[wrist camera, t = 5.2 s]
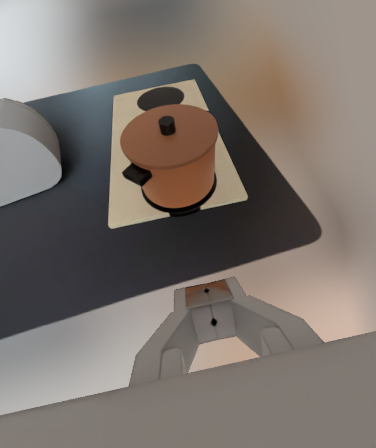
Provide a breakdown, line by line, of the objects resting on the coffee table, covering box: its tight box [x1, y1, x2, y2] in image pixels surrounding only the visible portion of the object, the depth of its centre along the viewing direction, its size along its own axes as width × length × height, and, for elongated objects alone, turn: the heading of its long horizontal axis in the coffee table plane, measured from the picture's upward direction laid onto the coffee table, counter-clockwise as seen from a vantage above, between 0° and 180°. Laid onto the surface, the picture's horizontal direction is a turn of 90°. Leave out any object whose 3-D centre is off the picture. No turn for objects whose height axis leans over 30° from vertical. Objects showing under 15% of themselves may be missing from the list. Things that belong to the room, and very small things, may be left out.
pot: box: [120, 104, 218, 208], centre depth 27 cm, size 16×13×11 cm
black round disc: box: [141, 171, 217, 217], centre depth 32 cm, size 13×13×1 cm
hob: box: [108, 79, 248, 229], centre depth 39 cm, size 22×41×1 cm, turn 11°
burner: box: [137, 87, 184, 111], centre depth 47 cm, size 12×12×1 cm
